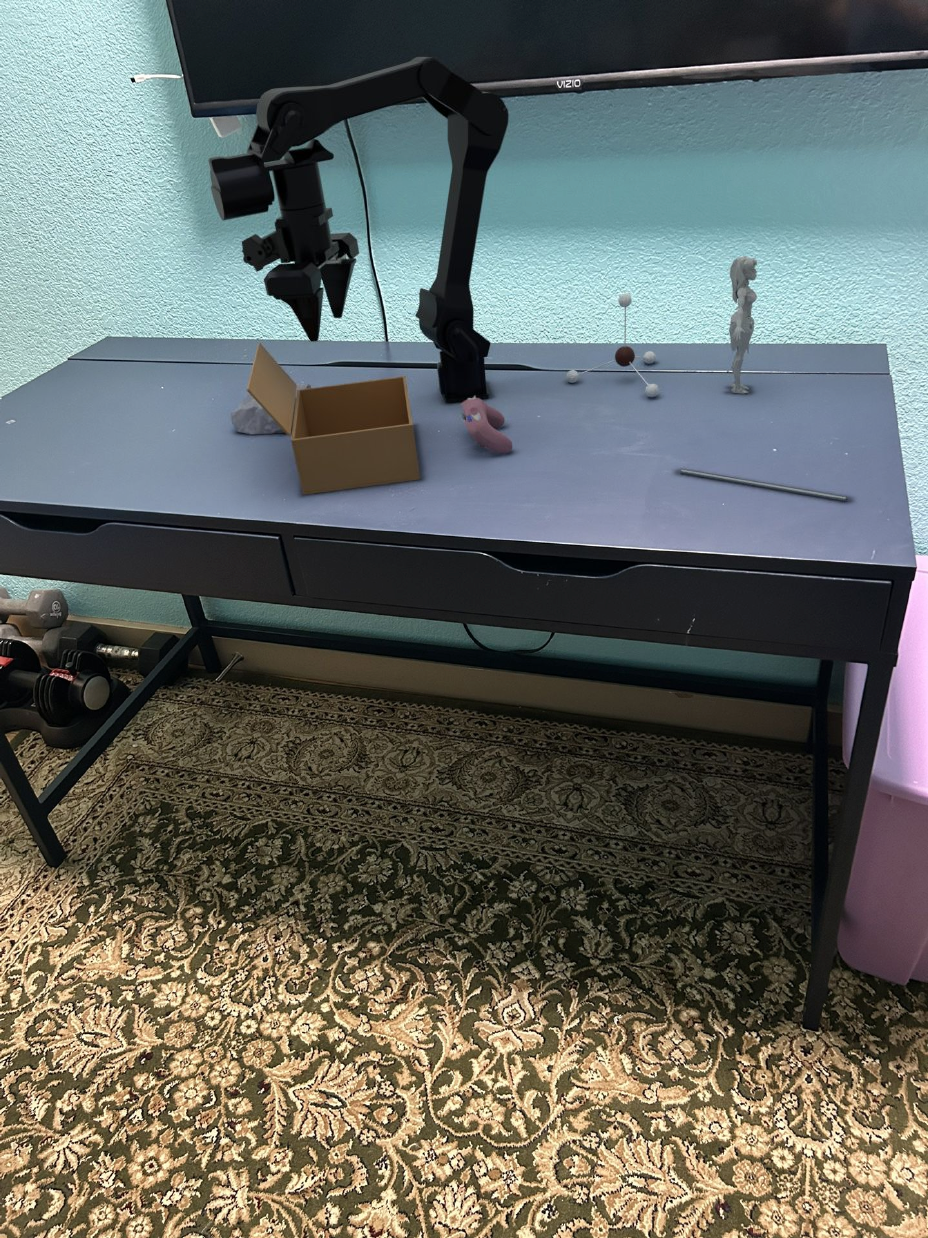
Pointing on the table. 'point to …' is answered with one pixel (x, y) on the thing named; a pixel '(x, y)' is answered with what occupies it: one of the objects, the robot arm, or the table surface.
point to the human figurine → (741, 315)
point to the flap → (272, 389)
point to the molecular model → (624, 355)
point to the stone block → (257, 416)
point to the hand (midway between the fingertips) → (326, 328)
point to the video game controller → (485, 425)
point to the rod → (765, 485)
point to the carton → (354, 435)
